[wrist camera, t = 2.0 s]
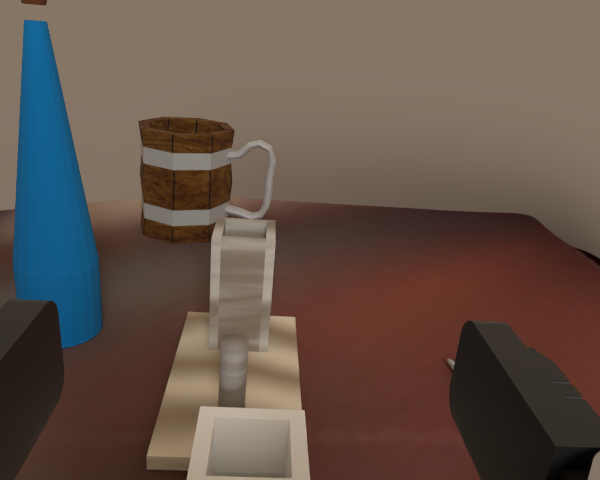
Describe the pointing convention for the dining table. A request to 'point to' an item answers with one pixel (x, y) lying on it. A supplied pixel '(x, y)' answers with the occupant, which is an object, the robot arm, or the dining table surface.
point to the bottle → (52, 199)
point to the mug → (191, 177)
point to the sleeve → (249, 445)
